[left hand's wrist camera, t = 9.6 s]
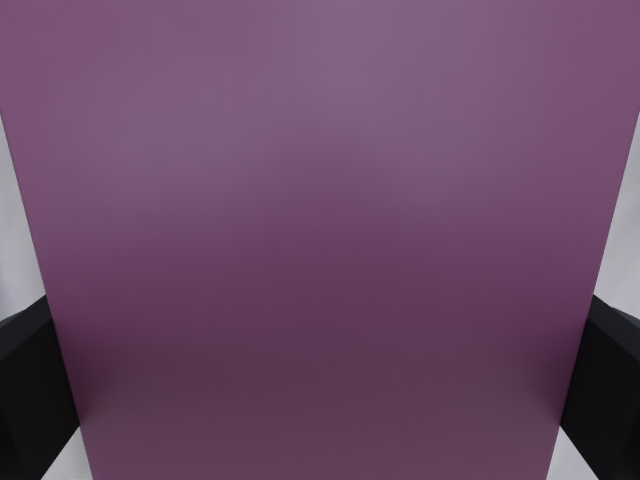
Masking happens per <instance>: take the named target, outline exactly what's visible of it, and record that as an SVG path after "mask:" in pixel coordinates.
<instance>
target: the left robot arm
mask: <svg viewBox="0 0 640 480" xmlns="http://www.w3.org/2000/svg"><path fill="white" fill-rule="evenodd" d="M560 426H561V428H562V429H563V430H564V432H565V433H566V435H567V436H568V437H569V439H570V440H571V442H572V443H573V444H574V446H575V447H576V449H577V450H578V451H579V453H580V454H581V456H582V457H583V458H584V460H585V461H586V463H587V464H588V465H589V467H590V468H591V469H592V471H593V472H594V474H595V475H596V476H597V478H598V479H599V480H640V320H639V319H637V318H635V317H633V316H631V315H629V314H627V313H624V312H622V311H620V310H618V309H616V308H611V307H610V306H609V305H607V304H606V303H605V302H603V301H602V300H601V299H599V298H598V297H597V296H595V295H594V294H593V296H592V300H591V304H590V308H589V312H588V316H587V320H586V324H585V328H584V332H583V336H582V340H581V344H580V348H579V352H578V356H577V359H576V363H575V367H574V371H573V375H572V379H571V383H570V387H569V391H568V395H567V399H566V403H565V407H564V411H563V415H562V419H561V423H560ZM78 427H79V422H78V418H77V414H76V410H75V406H74V402H73V398H72V394H71V390H70V387H69V383H68V379H67V375H66V371H65V367H64V363H63V359H62V355H61V351H60V347H59V343H58V339H57V335H56V331H55V327H54V323H53V319H52V316H51V312H50V308H49V304H48V300H47V296H46V295H44V296H43V297H41V298H40V299H39V300H37V301H36V302H35V303H33V304H32V305H31V306H29V307H28V308H27V309H25V310H23V311H21V312H19V313H17V314H14V315H12V316H10V317H8V318H6V319H4V320H2V321H0V480H41V479H42V477H43V476H44V474H45V473H46V472H47V470H48V469H49V467H50V466H51V465H52V463H53V462H54V460H55V459H56V458H57V456H58V455H59V453H60V452H61V451H62V449H63V448H64V446H65V445H66V444H67V442H68V441H69V440H70V438H71V437H72V435H73V434H74V433H75V431H76V430H77V428H78Z"/></svg>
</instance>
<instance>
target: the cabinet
mask: <svg viewBox="0 0 640 480" xmlns="http://www.w3.org/2000/svg"><path fill="white" fill-rule="evenodd" d="M639 111H640V0H0V114H1V118H2V122H3V126H4V130H5V134H6V138H7V142H8V146H9V150H10V154H11V158H12V162H13V166H14V170H15V174H16V178H17V181H18V185H19V189H20V193H21V197H22V201H23V205H24V209H25V213H26V217H27V221H28V225H29V229H30V233H31V237H32V241H33V245H34V249H35V252H36V256H37V260H38V264H39V268H40V272H41V276H42V280H43V284H44V288H45V292H46V296H47V300H48V304H49V308H50V312H51V316H52V319H53V323H54V327H55V331H56V335H57V339H58V343H59V347H60V351H61V355H62V359H63V363H64V367H65V371H66V375H67V379H68V383H69V387H70V390H71V394H72V398H73V402H74V406H75V410H76V414H77V418H78V422H79V426H80V430H81V434H82V438H83V442H84V446H85V450H86V454H87V458H88V461H89V465H90V469H91V473H92V477H93V480H546V478H547V474H548V470H549V466H550V462H551V458H552V454H553V450H554V446H555V442H556V438H557V434H558V430H559V426H560V423H561V419H562V415H563V411H564V407H565V403H566V399H567V395H568V391H569V387H570V383H571V379H572V375H573V371H574V367H575V363H576V359H577V356H578V352H579V348H580V344H581V340H582V336H583V332H584V328H585V324H586V320H587V316H588V312H589V308H590V304H591V300H592V296H593V292H594V288H595V285H596V281H597V277H598V273H599V269H600V265H601V261H602V257H603V253H604V249H605V245H606V241H607V237H608V233H609V229H610V225H611V221H612V218H613V214H614V210H615V206H616V202H617V198H618V194H619V190H620V186H621V182H622V178H623V174H624V170H625V166H626V162H627V158H628V154H629V151H630V147H631V143H632V139H633V135H634V131H635V127H636V123H637V119H638V115H639Z"/></svg>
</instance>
